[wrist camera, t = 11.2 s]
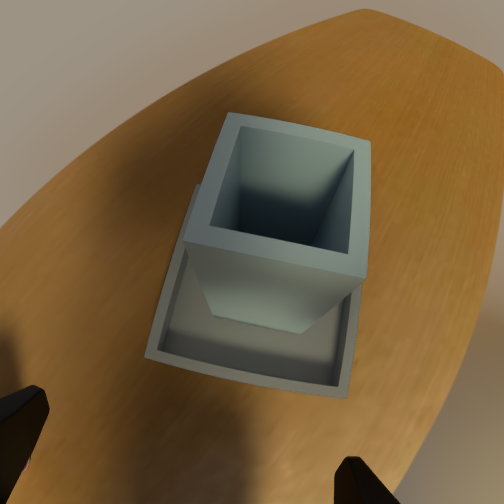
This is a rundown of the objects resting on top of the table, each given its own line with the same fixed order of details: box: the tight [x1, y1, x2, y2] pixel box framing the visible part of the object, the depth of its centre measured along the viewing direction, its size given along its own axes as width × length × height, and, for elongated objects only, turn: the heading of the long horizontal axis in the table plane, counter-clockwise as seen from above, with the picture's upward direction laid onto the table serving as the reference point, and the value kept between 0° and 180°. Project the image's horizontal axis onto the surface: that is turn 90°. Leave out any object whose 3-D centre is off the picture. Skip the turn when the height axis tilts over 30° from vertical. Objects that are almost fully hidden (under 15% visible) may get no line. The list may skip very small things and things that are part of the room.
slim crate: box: [183, 112, 371, 335], centre depth 17 cm, size 6×6×12 cm
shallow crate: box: [144, 184, 362, 399], centre depth 22 cm, size 13×13×2 cm
